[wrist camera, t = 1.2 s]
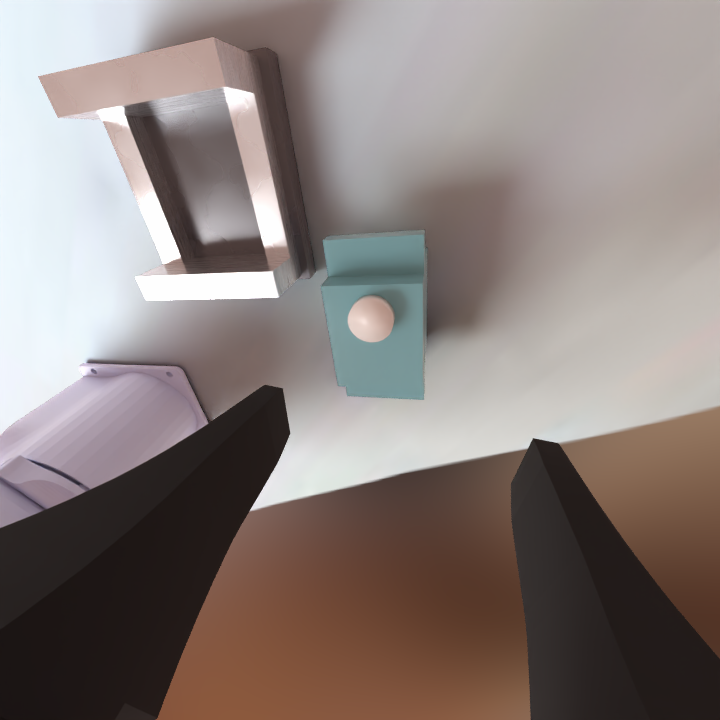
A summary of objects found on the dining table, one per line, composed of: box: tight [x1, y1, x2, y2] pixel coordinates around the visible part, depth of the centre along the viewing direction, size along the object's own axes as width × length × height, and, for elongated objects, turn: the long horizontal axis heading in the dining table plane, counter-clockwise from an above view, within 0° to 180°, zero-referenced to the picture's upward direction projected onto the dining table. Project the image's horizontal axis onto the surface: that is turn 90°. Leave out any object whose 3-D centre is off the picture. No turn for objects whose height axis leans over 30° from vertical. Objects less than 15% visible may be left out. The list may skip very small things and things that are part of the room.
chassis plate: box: [38, 37, 316, 300], centre depth 15 cm, size 8×9×4 cm
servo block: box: [321, 230, 427, 400], centre depth 16 cm, size 4×8×6 cm, turn 6°
